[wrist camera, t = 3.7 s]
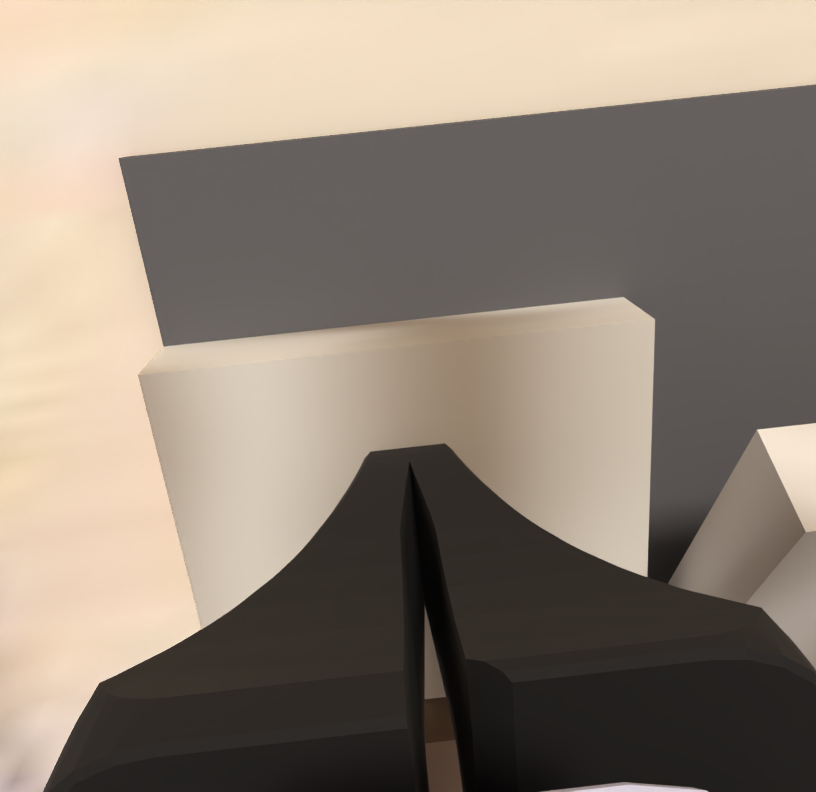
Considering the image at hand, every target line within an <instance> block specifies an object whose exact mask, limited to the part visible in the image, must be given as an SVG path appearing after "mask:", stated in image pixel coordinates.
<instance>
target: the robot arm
mask: <svg viewBox="0 0 816 792" xmlns="http://www.w3.org/2000/svg"><path fill="white" fill-rule="evenodd" d="M425 608H426V612H427V617H428V621H429V625H430V630H431V634H432V638H433V643H434V647H435V651H436V656H437V660H438V664H439V669H440V673H441V677H442V681H443V686H444V690H445V694H446V699H447V703H448V707H449V712H450V716H451V720H452V725H453V731H454V736H455V742H456V747H457V754H458V761H459V769H460V776H461V784H462V791H463V792H816V670H815V668H814V667H813V666H812V664H811V663H810V662H809V660H808V659H807V658H806V657H805V655H804V654H803V653H802V652H801V651H800V649H799V648H798V647H797V646H796V644H795V643H794V642H793V641H792V640H791V639H790V638H789V636H788V635H787V634H786V633H785V632H784V631H783V630H782V629H781V628H780V627H779V626H778V625H777V624H776V623H775V622H774V621H773V620H772V619H771V617H770V616H769V615H768V614H767V613H766V612H765V611H764V610H763V609H762V608H761V607H757V606H753V605H749V604H744V603H740V602H736V601H732V600H727V599H723V598H719V597H715V596H710V595H706V594H702V593H698V592H693V591H689V590H686V589H682V588H679V587H676V586H673V585H670V584H666V583H663V582H660V581H657V580H654V579H651V578H648V577H645V576H642V575H639V574H637V573H634V572H631V571H629V570H626V569H623V568H621V567H618V566H616V565H613V564H611V563H609V562H607V561H604V560H602V559H600V558H598V557H596V556H593V555H591V554H589V553H587V552H584V551H582V550H580V549H578V548H576V547H574V546H572V545H571V544H569V543H567V542H565V541H563V540H561V539H560V538H558V537H556V536H555V535H553V534H551V533H550V532H548V531H546V530H544V529H543V528H541V527H539V526H538V525H536V524H535V523H533V522H532V521H530V520H529V519H527V518H526V517H524V516H523V515H522V514H520V513H519V512H518V511H516V510H515V509H513V508H512V507H511V506H510V505H508V504H507V503H506V502H505V501H504V500H502V499H501V498H500V497H499V496H498V495H497V494H496V493H494V492H493V491H492V490H491V489H490V488H489V487H488V486H487V485H486V484H484V483H483V482H482V481H481V480H480V479H479V478H478V477H477V476H476V475H475V474H474V473H473V472H472V471H471V470H470V469H469V468H468V467H467V466H466V465H465V464H464V462H463V461H462V460H461V459H460V458H459V457H458V456H457V455H456V453H455V452H454V451H453V450H452V449H451V448H450V447H449V446H448V445H446V444H445V443H443V444H434V445H425V446H416V447H407V448H398V449H389V450H380V451H371V452H370V453H369V454H368V455H367V456H366V457H365V458H364V460H363V463H362V465H361V467H360V469H359V470H358V472H357V474H356V476H355V478H354V479H353V481H352V483H351V484H350V486H349V488H348V489H347V491H346V492H345V494H344V495H343V497H342V498H341V500H340V501H339V503H338V504H337V506H336V507H335V509H334V510H333V512H332V513H331V514H330V516H329V517H328V518H327V520H326V521H325V522H324V523H323V525H322V526H321V527H320V528H319V530H318V531H317V532H316V533H315V535H314V536H313V537H312V538H311V540H310V541H309V542H308V543H307V544H306V545H305V547H304V548H303V549H302V550H301V551H300V552H299V553H298V554H297V555H296V556H295V557H294V558H293V559H292V560H291V561H290V562H289V563H288V564H287V565H286V566H285V567H284V568H283V569H282V570H281V571H280V572H279V573H277V574H276V575H275V576H274V577H273V578H272V579H270V580H269V581H268V582H267V583H265V584H264V585H263V586H261V587H260V588H259V589H258V590H256V591H255V592H254V593H253V594H251V595H250V596H249V597H248V598H246V599H245V600H244V601H242V602H241V603H240V604H239V605H237V606H236V607H235V608H233V609H232V610H230V611H229V612H228V613H226V614H225V615H223V616H222V617H220V618H219V619H217V620H216V621H214V622H213V623H211V624H210V625H208V626H206V627H205V628H203V629H201V630H200V631H198V632H197V633H195V634H193V635H192V636H190V637H188V638H187V639H185V640H183V641H182V642H180V643H178V644H176V645H175V646H173V647H171V648H169V649H167V650H166V651H164V652H162V653H160V654H158V655H156V656H154V657H152V658H150V659H148V660H146V661H144V662H142V663H140V664H138V665H136V666H134V667H132V668H130V669H128V670H126V671H124V672H122V673H120V674H118V675H116V676H114V677H112V678H110V679H107V680H105V681H103V682H101V683H99V685H98V686H97V688H96V690H95V692H94V693H93V695H92V697H91V699H90V700H89V702H88V704H87V705H86V707H85V709H84V710H83V712H82V714H81V715H80V717H79V719H78V720H77V722H76V724H75V726H74V728H73V730H72V732H71V734H70V736H69V738H68V740H67V742H66V744H65V746H64V748H63V750H62V752H61V754H60V757H59V759H58V761H57V763H56V765H55V767H54V769H53V772H52V774H51V776H50V778H49V780H48V782H47V784H46V787H45V789H44V791H43V792H429V782H428V771H427V761H426V746H425Z"/></svg>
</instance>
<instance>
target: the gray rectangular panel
mask: <svg viewBox="0 0 816 792" xmlns="http://www.w3.org/2000/svg"><path fill="white" fill-rule="evenodd" d="M119 162H120V166H121V170H122V174H123V178H124V183H125V187H126V191H127V195H128V199H129V204H130V208H131V212H132V216H133V220H134V224H135V229H136V233H137V237H138V241H139V245H140V249H141V254H142V258H143V262H144V266H145V270H146V274H147V279H148V283H149V287H150V291H151V295H152V300H153V304H154V308H155V312H156V316H157V320H158V325H159V329H160V333H161V337H162V341H163V345H164V346H174V345H183V344H192V343H201V342H211V341H220V340H229V339H239V338H248V337H257V336H266V335H276V334H285V333H294V332H303V331H313V330H322V329H331V328H341V327H350V326H359V325H368V324H378V323H387V322H396V321H406V320H415V319H424V318H433V317H443V316H452V315H461V314H470V313H480V312H489V311H498V310H508V309H517V308H526V307H535V306H545V305H554V304H563V303H573V302H582V301H591V300H600V299H610V298H619V297H624V298H626V299H627V300H629V301H630V302H631V303H633V304H634V305H636V306H637V307H639V308H640V309H641V310H643V311H644V312H646V313H647V314H648V315H650V316H651V317H653V318H654V319H655V340H654V373H653V406H652V439H651V472H650V505H649V538H648V571H647V577H648V578H651V579H654V580H657V581H660V582H663V583H666V584H668V583H669V581H670V579H671V577H672V576H673V574H674V572H675V570H676V569H677V567H678V565H679V564H680V562H681V560H682V558H683V557H684V555H685V553H686V551H687V550H688V548H689V546H690V545H691V543H692V541H693V539H694V538H695V536H696V534H697V532H698V531H699V529H700V527H701V526H702V524H703V522H704V520H705V519H706V517H707V515H708V513H709V512H710V510H711V508H712V506H713V505H714V503H715V501H716V500H717V498H718V496H719V494H720V493H721V491H722V489H723V487H724V486H725V484H726V482H727V481H728V479H729V477H730V475H731V474H732V472H733V470H734V468H735V467H736V465H737V463H738V462H739V460H740V458H741V456H742V455H743V453H744V451H745V449H746V448H747V446H748V444H749V443H750V441H751V439H752V437H753V436H754V434H755V432H756V430H758V429H767V428H776V427H785V426H794V425H803V424H812V423H816V85H807V86H797V87H788V88H778V89H769V90H759V91H750V92H740V93H731V94H721V95H711V96H702V97H692V98H683V99H673V100H664V101H654V102H645V103H635V104H626V105H616V106H607V107H597V108H588V109H578V110H568V111H559V112H549V113H540V114H530V115H521V116H511V117H502V118H492V119H483V120H473V121H464V122H454V123H444V124H435V125H425V126H416V127H406V128H397V129H387V130H378V131H368V132H359V133H349V134H340V135H330V136H321V137H311V138H301V139H292V140H282V141H273V142H263V143H254V144H244V145H235V146H225V147H216V148H206V149H197V150H187V151H177V152H168V153H158V154H149V155H139V156H130V157H123V158H119Z"/></svg>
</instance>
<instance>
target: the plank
mask: <svg viewBox="0 0 816 792" xmlns="http://www.w3.org/2000/svg"><path fill="white" fill-rule="evenodd" d="M654 340H655V319H654V318H653V317H651V316H650V315H648V314H647V313H646V312H644V311H643V310H641V309H640V308H639V307H637V306H636V305H634V304H633V303H631V302H630V301H629V300H627V299H626V298H624V297H619V298H610V299H600V300H591V301H582V302H573V303H563V304H554V305H545V306H535V307H526V308H517V309H508V310H498V311H489V312H480V313H470V314H461V315H452V316H443V317H433V318H424V319H415V320H406V321H396V322H387V323H378V324H368V325H359V326H350V327H341V328H331V329H322V330H313V331H303V332H294V333H285V334H276V335H266V336H257V337H248V338H239V339H229V340H220V341H211V342H201V343H192V344H183V345H174V346H164V347H163V348H162V349H161V350H160V351H159V352H158V354H157V355H156V356H155V357H154V358H153V359H152V360H151V361H150V362H149V364H148V365H147V366H146V367H145V368H144V369H143V370H142V371H141V373H140V374H139V375H138V377H139V381H140V385H141V389H142V393H143V397H144V401H145V405H146V409H147V413H148V417H149V421H150V425H151V429H152V433H153V437H154V441H155V445H156V449H157V453H158V457H159V461H160V465H161V469H162V473H163V477H164V481H165V485H166V489H167V493H168V497H169V501H170V505H171V509H172V513H173V517H174V521H175V525H176V529H177V533H178V537H179V541H180V544H181V548H182V552H183V556H184V560H185V564H186V568H187V572H188V576H189V580H190V584H191V588H192V592H193V596H194V600H195V604H196V608H197V612H198V616H199V620H200V624H201V628H202V629H203V628H205V627H206V626H208V625H210V624H211V623H213V622H214V621H216V620H217V619H219V618H220V617H222V616H223V615H225V614H226V613H228V612H229V611H230V610H232V609H233V608H235V607H236V606H237V605H239V604H240V603H241V602H242V601H244V600H245V599H246V598H248V597H249V596H250V595H251V594H253V593H254V592H255V591H256V590H258V589H259V588H260V587H261V586H263V585H264V584H265V583H267V582H268V581H269V580H270V579H272V578H273V577H274V576H275V575H276V574H277V573H279V572H280V571H281V570H282V569H283V568H284V567H285V566H286V565H287V564H288V563H289V562H290V561H291V560H292V559H293V558H294V557H295V556H296V555H297V554H298V553H299V552H300V551H301V550H302V549H303V548H304V547H305V545H306V544H307V543H308V542H309V541H310V540H311V538H312V537H313V536H314V535H315V533H316V532H317V531H318V530H319V528H320V527H321V526H322V525H323V523H324V522H325V521H326V520H327V518H328V517H329V516H330V514H331V513H332V512H333V510H334V509H335V507H336V506H337V504H338V503H339V501H340V500H341V498H342V497H343V495H344V494H345V492H346V491H347V489H348V488H349V486H350V484H351V483H352V481H353V479H354V478H355V476H356V474H357V472H358V470H359V469H360V467H361V465H362V463H363V460H364V458H365V457H366V456H367V455H368V454H369V453H370V452H371V451H380V450H389V449H398V448H407V447H416V446H425V445H434V444H443V443H445V444H446V445H448V446H449V447H450V448H451V449H452V450H453V451H454V452H455V453H456V455H457V456H458V457H459V458H460V459H461V460H462V461H463V462H464V464H465V465H466V466H467V467H468V468H469V469H470V470H471V471H472V472H473V473H474V474H475V475H476V476H477V477H478V478H479V479H480V480H481V481H482V482H483V483H484V484H486V485H487V486H488V487H489V488H490V489H491V490H492V491H493V492H494V493H496V494H497V495H498V496H499V497H500V498H501V499H502V500H504V501H505V502H506V503H507V504H508V505H510V506H511V507H512V508H513V509H515V510H516V511H518V512H519V513H520V514H522V515H523V516H524V517H526V518H527V519H529V520H530V521H532V522H533V523H535V524H536V525H538V526H539V527H541V528H543V529H544V530H546V531H548V532H550V533H551V534H553V535H555V536H556V537H558V538H560V539H561V540H563V541H565V542H567V543H569V544H571V545H572V546H574V547H576V548H578V549H580V550H582V551H584V552H587V553H589V554H591V555H593V556H596V557H598V558H600V559H602V560H604V561H607V562H609V563H611V564H613V565H616V566H618V567H621V568H623V569H626V570H629V571H631V572H634V573H637V574H639V575H642V576H645V577H647V571H648V538H649V505H650V472H651V439H652V406H653V373H654ZM441 697H446V694H445V690H444V686H443V681H442V677H441V673H440V669H439V664H438V660H437V656H436V651H435V647H434V643H433V638H432V634H431V630H430V625H429V621H428V617H427V612H426V608H425V699H432V698H441Z"/></svg>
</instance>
